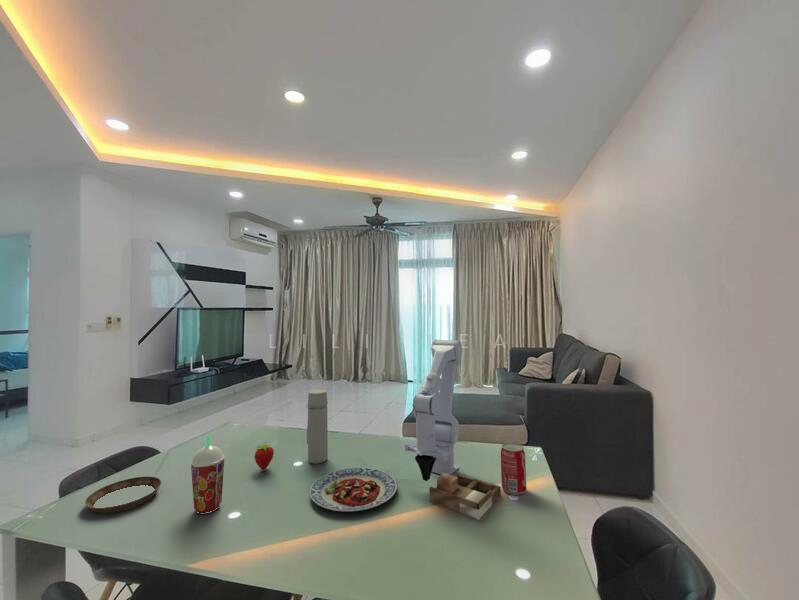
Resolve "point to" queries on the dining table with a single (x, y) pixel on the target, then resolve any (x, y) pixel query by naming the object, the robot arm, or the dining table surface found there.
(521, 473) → the soda can
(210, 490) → the smoothie
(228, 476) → the dining table surface
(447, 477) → the block
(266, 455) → the strawberry
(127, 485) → the oval wooden ring
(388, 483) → the ceramic plate
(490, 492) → the wooden compartment tray
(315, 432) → the water bottle
